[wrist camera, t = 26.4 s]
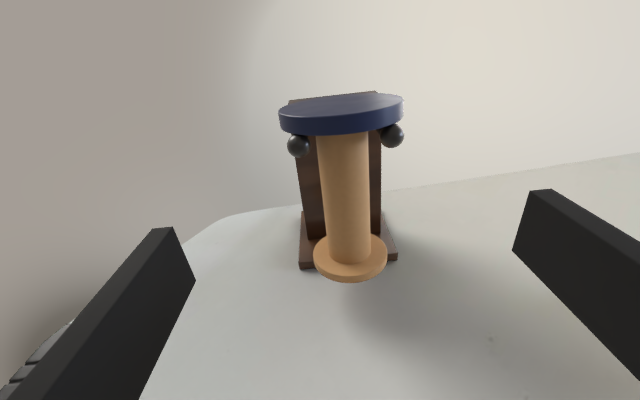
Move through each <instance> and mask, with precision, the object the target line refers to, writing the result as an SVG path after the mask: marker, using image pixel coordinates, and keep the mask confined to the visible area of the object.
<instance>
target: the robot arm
mask: <svg viewBox="0 0 640 400" xmlns="http://www.w3.org/2000/svg"><path fill="white" fill-rule="evenodd" d="M512 251H513V252H514V253H515V254H516V255H517V256H518V257H519V258H520V259H521V260H522V261H523V262H524V263H525V264H526V265H527V266H528V268H529V269H530V270H531V271H532V272H533V273H534V274H535V275H536V276H537V277H538V278H539V279H540V280H541V281H542V282H543V283H544V284H545V285H546V286H547V287H548V288H549V289H550V290H551V291H552V292H553V293H554V294H555V295H556V296H557V297H558V298H559V299H560V300H561V301H562V302H563V303H564V304H565V305H566V306H567V307H568V308H569V310H570V311H571V312H572V313H573V314H574V315H575V316H576V317H577V318H578V319H579V320H580V321H581V322H582V323H583V324H584V325H585V326H586V327H587V328H588V329H589V330H590V331H591V332H592V333H593V334H594V335H595V336H596V337H597V338H598V339H599V340H600V341H601V342H602V343H603V344H604V345H605V346H606V347H607V348H608V349H609V350H610V351H611V353H612V354H613V355H614V356H615V357H616V358H617V359H618V360H619V361H620V362H621V363H622V364H623V365H624V366H625V367H626V368H627V369H628V370H629V371H630V372H631V373H632V374H633V375H634V376H635V377H636V378H637V379H638V380H639V381H640V242H639V241H637V240H636V239H634V238H632V237H631V236H629V235H627V234H626V233H624V232H622V231H621V230H619V229H617V228H616V227H614V226H612V225H611V224H609V223H607V222H606V221H604V220H602V219H601V218H599V217H597V216H596V215H594V214H592V213H591V212H589V211H587V210H586V209H584V208H582V207H581V206H579V205H578V204H576V203H574V202H573V201H571V200H569V199H568V198H566V197H564V196H563V195H561V194H559V193H558V192H556V191H554V190H553V189H543V190H533V191H530V192H529V195H528V198H527V202H526V205H525V208H524V212H523V215H522V218H521V221H520V225H519V228H518V231H517V235H516V238H515V241H514V245H513V248H512ZM195 282H196V279H195V277H194V275H193V272H192V270H191V268H190V266H189V263H188V261H187V259H186V256H185V254H184V252H183V249H182V247H181V245H180V242H179V240H178V238H177V236H176V233H175V231H174V229H173V227H165V228H155V229H152V230H151V231H150V232H149V234H148V235H147V236H146V237H145V238H144V239H143V240H142V242H141V243H140V244H139V245H138V246H137V247H136V249H135V250H134V251H133V252H132V253H131V254H130V256H129V257H128V258H127V259H126V260H125V261H124V263H123V264H122V265H121V266H120V267H119V268H118V270H117V271H116V272H115V273H114V274H113V275H112V277H111V278H110V279H109V280H108V281H107V282H106V284H105V285H104V286H103V287H102V288H101V289H100V291H99V292H98V293H97V294H96V295H95V296H94V298H93V299H92V300H91V301H90V302H89V303H88V305H87V306H86V307H85V308H84V309H83V310H82V312H81V313H80V314H79V315H78V316H77V317H76V319H75V320H74V321H73V322H72V323H71V324H66V325H64V326H63V327H62V328H61V329H59V330H58V331H57V332H55V333H54V334H53V335H52V336H50V337H49V338H48V339H47V340H45V341H44V342H43V343H42V344H41V346H39V348H38V349H37V350H36V351H35V352H34V353H33V354H32V355H31V357H30V358H29V359H28V360H27V361H26V364H25V366H23V367H21V368H20V369H19V370H18V371H17V372H16V373H15V374H14V376H13V377H12V378H11V379H10V380H9V381H10V382H9V384H8V385H5V386H4V387H3V388H2V389H1V390H0V400H139V397H140V395H141V393H142V391H143V389H144V387H145V385H146V383H147V381H148V379H149V377H150V375H151V373H152V371H153V369H154V366H155V364H156V362H157V360H158V358H159V356H160V354H161V352H162V350H163V348H164V346H165V344H166V342H167V340H168V338H169V335H170V333H171V331H172V329H173V327H174V325H175V323H176V321H177V319H178V317H179V315H180V313H181V311H182V309H183V307H184V304H185V302H186V300H187V298H188V296H189V294H190V292H191V290H192V288H193V286H194V284H195Z"/></svg>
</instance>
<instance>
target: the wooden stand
mask: <svg viewBox="0 0 640 400" xmlns="http://www.w3.org/2000/svg"><path fill="white" fill-rule="evenodd" d="M361 93H377V92H376V91H368V92H359V93H350V94H361ZM341 95H346V94H341ZM333 96H335V95H333ZM323 97H327V96H323ZM315 98H320V97H315ZM309 99H314V98H306V99H297V100H290V101H289V103H288V105H289V104H292V103H296V102H300V101H304V100H309ZM403 139H404V131H403V129H402V128H401V127H400V126H399V125H398V124H395V123H394V124H392V125H389V126H387V127H383V128H380V129H376V130H371V131H368V153H369V194H370V233H371V234H373V235H375V236H377V237H378V238H380V239H381V240H382V241H383V242H384V244H385V246H386V248H387V261H391V260H397V259H398V253H397V250H396V248H395V245H394V243H393V241H392V238H391V236H390V233H389V231H388V229H387V226H386V224H385V221H384V219H383V216H382V214H381V143H382V144H383V145H384V146H386V147H388V148H394V147H397V146H399V145H400V144H401V143H402V141H403ZM287 148H288V151H289V153H290V154H291V155H293V156H294V157H295V160H296V167H297V173H298V180H299V186H300V192H301V199H302V205H303V211H302V213H301V229H300V246H299V268H300V269H308V268H316V267H315V264H314V259H313V251H314V248H315V246H316V244H317V243H318V242H319V241H320V240H321V239H322V238H324V237H325V236H327V234H326V225H325V216H324V207H323V198H322V190H321V181H320V172H319V163H318V154H317V145H316V136H306V135H297V134H292V136H291V137H290V138H289V140H288V143H287Z"/></svg>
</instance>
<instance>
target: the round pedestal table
mask: <svg viewBox="0 0 640 400" xmlns="http://www.w3.org/2000/svg"><path fill="white" fill-rule="evenodd" d="M403 106H404V99H403V98H402V97H401V96H397V95H393V94H383V93H361V94H346V95H335V96H327V97H320V98H314V99H309V100H304V101H300V102H296V103H292V104H289V105H287V106H284V107H282V108H281V109H280V110H279V112H278V114H279V120H280V126H281V128H282V130H284V131H285V132H288V133H291V134H297V135H306V136H316V145H317V154H318V163H319V172H320V181H321V190H322V198H323V207H324V216H325V225H326V234H327V236H325V237H324V238H322V239H321V240H320V241H319V242H318V243H317V244H316V246H315V248H314V251H313V259H314V264H315V267H316V269H317V270H318V271H319V272H320V273H321V274H322V275H323V276H325V277H326V278H328V279H331V280H333V281H337V282H342V283H356V282H362V281H366V280H369V279H371V278H373V277H375V276H376V275H378V274H379V273H380V272H381V271H382V270H383V269H384V267H385V266H386V263H387V248H386V246H385V244H384V242H383V241H382V240H381V239H380V238H378V237H377V236H375V235H373V234H371V233H370V194H369V153H368V131H371V130H376V129H380V128H383V127H387V126H389V125H392V124H394V123H396V122H398V121H400V120H401V119H402V117H403Z"/></svg>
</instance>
